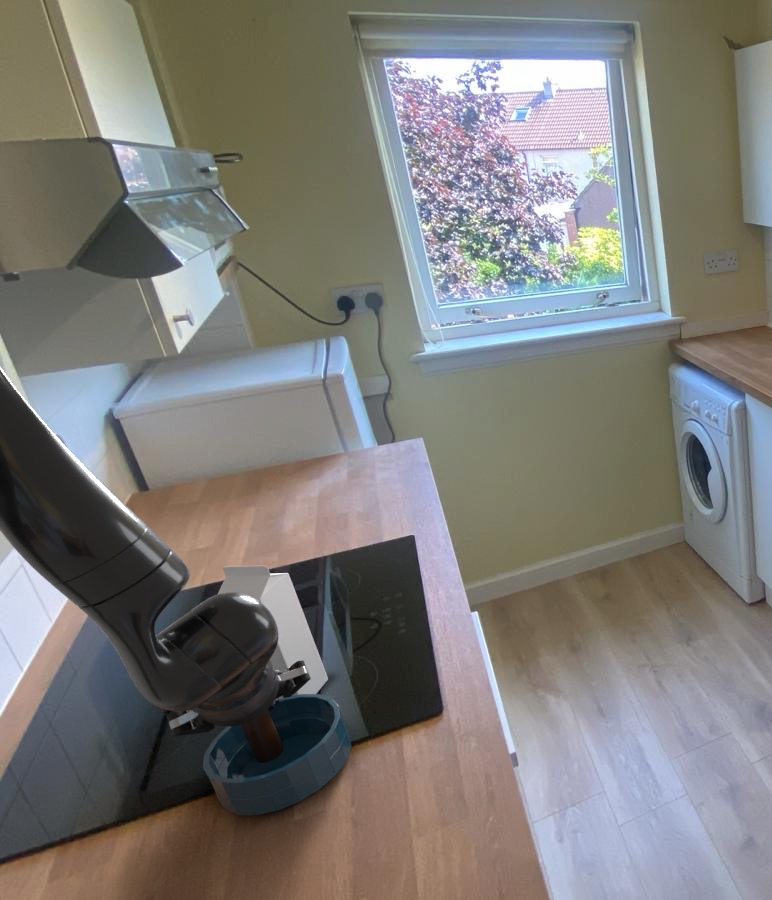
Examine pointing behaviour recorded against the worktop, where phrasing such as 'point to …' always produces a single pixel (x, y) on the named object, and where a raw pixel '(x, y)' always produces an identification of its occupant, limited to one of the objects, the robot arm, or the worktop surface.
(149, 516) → the worktop surface
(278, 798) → the bowl
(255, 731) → the brown tall cylinder
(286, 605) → the milk
